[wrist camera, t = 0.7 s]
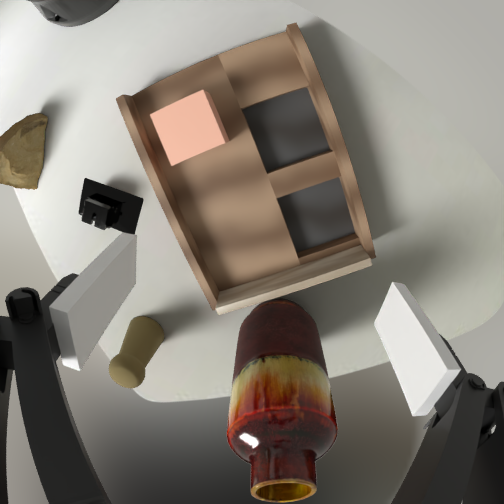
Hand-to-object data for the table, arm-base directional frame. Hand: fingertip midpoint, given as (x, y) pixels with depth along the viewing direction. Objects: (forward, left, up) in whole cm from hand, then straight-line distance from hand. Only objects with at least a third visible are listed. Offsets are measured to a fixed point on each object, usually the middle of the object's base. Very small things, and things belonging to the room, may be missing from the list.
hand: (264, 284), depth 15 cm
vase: (+19, -5, -24) cm, 31 cm away
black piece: (-6, -20, -25) cm, 32 cm away
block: (-10, -5, -22) cm, 24 cm away
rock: (-19, -28, -24) cm, 41 cm away
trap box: (-3, -1, -24) cm, 24 cm away
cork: (+14, -25, -24) cm, 38 cm away
